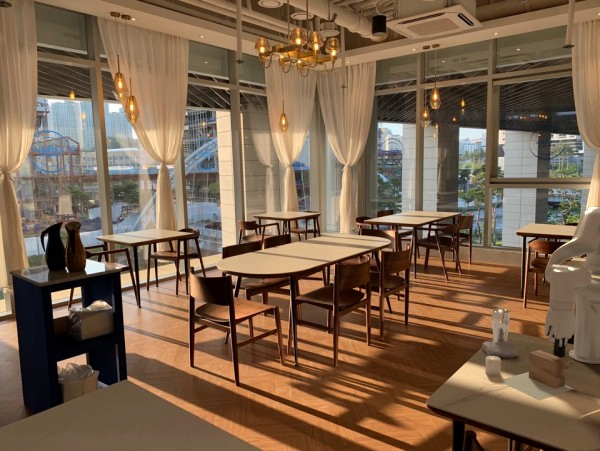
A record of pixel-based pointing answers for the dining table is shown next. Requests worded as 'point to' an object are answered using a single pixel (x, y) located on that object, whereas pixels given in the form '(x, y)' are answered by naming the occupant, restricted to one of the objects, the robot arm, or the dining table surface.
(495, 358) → the white rounded cylinder
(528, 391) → the mat
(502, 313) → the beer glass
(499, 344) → the stone block
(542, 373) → the block
